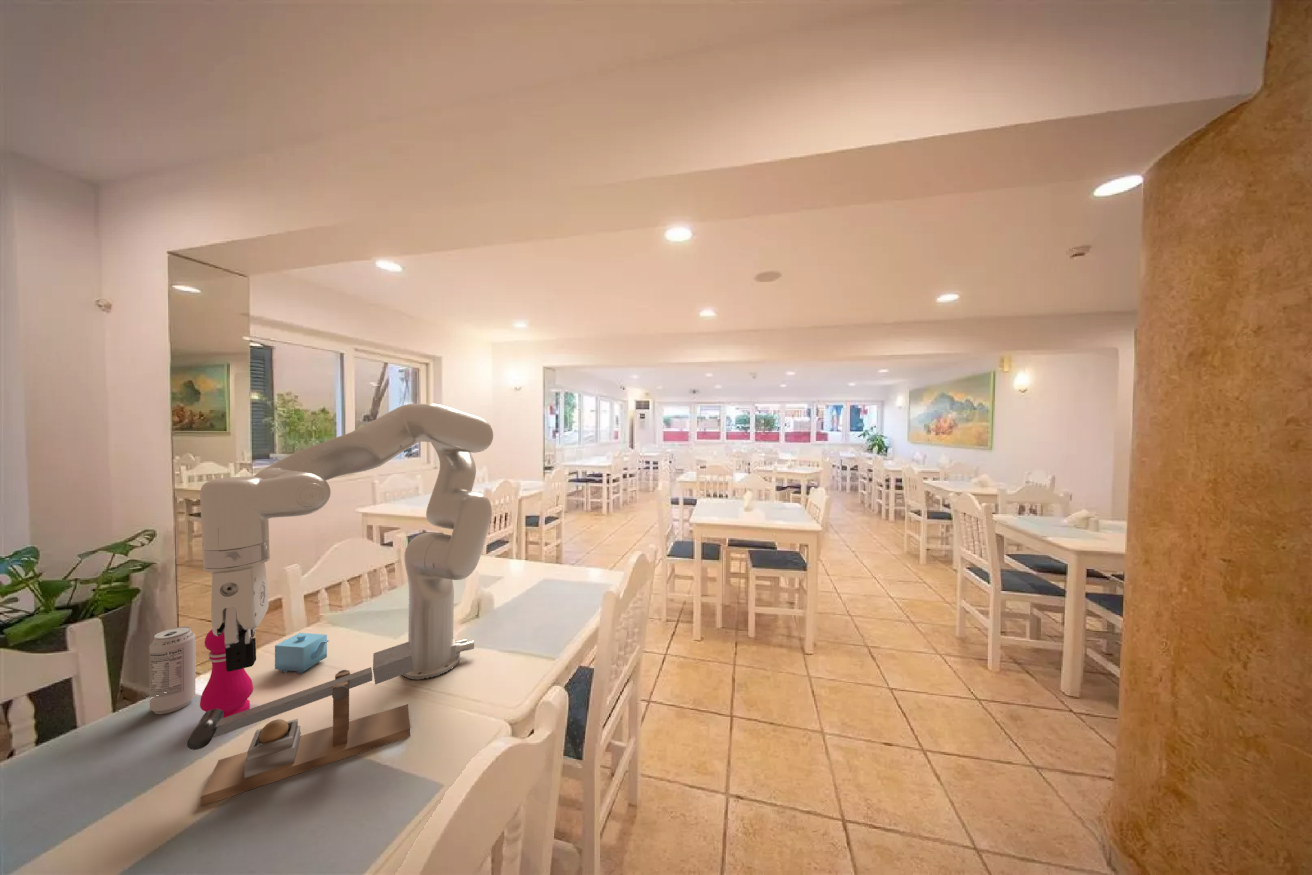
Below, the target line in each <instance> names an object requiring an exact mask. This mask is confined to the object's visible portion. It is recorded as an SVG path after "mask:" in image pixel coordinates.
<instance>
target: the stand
mask: <svg viewBox="0 0 1312 875" xmlns="http://www.w3.org/2000/svg"><path fill="white" fill-rule="evenodd" d="M350 674H351V672H350V670H348V669H342V670H340V671H337V673H335V675H334V676H335V677H334V678H335V679H338V678H341V677H344V676H347V675H350ZM335 679H334V680H335ZM331 697H332V726H329V727H325V728H322V729H318V730H316V731H312V732H309V733H305V734H302V735H301V725H299V719H298V718H295V719H292V720H291V719H290V720H288V721H286V722H287V723H288V732H287V734H286V736H285V737H284V738H283V739H280V740H277V741H273V742H270V743H266V744H262V743H261V742H260V740H259V735H260V732H261V730H262V729H263V728H264V727H263V728H259V729H256V730H255V732H254V734H253V737H252V739H251V742H250V745H249V747H248V750H247V751H243V752H241V753H238V754H235V755H232V756H231V755H230V756H227V757H224V758H221V759H218V761H217V762H216V765H215V767H214V768H213V771H212V774H211V775H210V777H209V779H208V781H207V783H206V785H205V788H204V790H203V792H202V793H201V795H200V799H201V800H200V802H201V804H200V805H201V807H202V806H207V805H209V804H211V803H214V802H218V801H220V800H223V799H226V798H229V797H233V796H235V795H238V794H242V793H245V792H247V791H251V790H253V789H256V788H260V787H263V786H266V785H269V784H271V783H274V782H277V781H280V780H284V779H287V778H290V777H293V776H296V775H299V774H302V773H305V772H307V771H310V770H311V771H312V770H313V769H316V768H319V767H322V766H326V765H327V764H332V763H335V762H337V761H340V760H344V759H346V758H349V757H352V756H355V755H359V754H361V753H364V752H368V751H370V750H373V749H376V748H378V747H382V746H386V745H388V744H392V743H394V742H397V741H400V740H403V739H407V738H410V737H411V721H410V711H409V704H408V703H407V704H404V705H400V706H397V707H394V708H390V709H386V710H382V711H379V712H377V713H373V714H370V715H367V716H363V717H359V718H355V719H353V720H352V719H351V720H350V689H348V681H346V682H342V683H338V684H334V686H333V693H332V695H331Z"/></svg>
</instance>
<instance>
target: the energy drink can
mask: <svg viewBox="0 0 1312 875" xmlns="http://www.w3.org/2000/svg"><path fill="white" fill-rule="evenodd" d="M153 637H154V638H153V640H152V641H151V643H150V644H149V647H148V649H149V710H150V711H152V712H154V714H156V715H163V714H164V715H165V714H169V713H172V712H176V711H179V710H181V709H183V708H184V707H187V706H188V705H189V704H190V703H191V702H192V700H193V699H194V698H195V696H196V634H195V633H194V632H193V631H192V628H191V627H190V626H179V627H171V628H169V629H166V630H162V631H160V632H158V633H156V634H154V636H153ZM164 692H167V693H164ZM156 695H159V696H156ZM151 697H154V698H152V699H151V700H150V698H151Z"/></svg>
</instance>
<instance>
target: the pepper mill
mask: <svg viewBox="0 0 1312 875" xmlns="http://www.w3.org/2000/svg"><path fill="white" fill-rule="evenodd" d="M204 638H205V639H204V647H205V648H206V649H207V650H208V651H209V652H208V654H207V655H208V662H210V663H211V667H212V668H211V672H210V676H209V679H208V681H207V683H206V685H205V687H204V689H203V691H202V693H201V696H200V701H199V707H200V710H202V711H204V713H206V712H207V711H209V710H212V709H221V710H222V711H223V712H224V717H223V718H225V717H228V716H231V715H234V714H237V713H240V712H243V711H245V710H248V709H251V702H250V699H249V698H250V697H251V695H252V694H253V692H254V682H253V681H252V678H251V677H250V675H249V674H248V673H247V671H246V670H245V669H246V668H243V669H238V670H234V671H230V672H228V671H226V650H225V648H226V647H225V636H224V631H223V633H222V634H221V635H220V636H216V635H214V634H213V630H212V629H210V631H208V633H207V634H206V635H205V637H204Z"/></svg>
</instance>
